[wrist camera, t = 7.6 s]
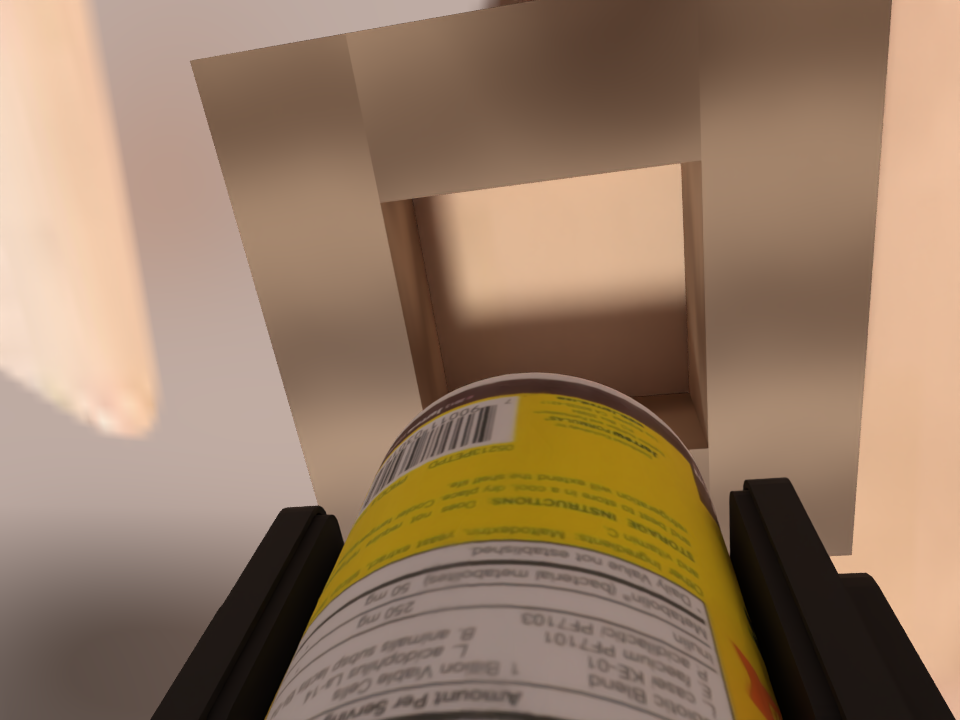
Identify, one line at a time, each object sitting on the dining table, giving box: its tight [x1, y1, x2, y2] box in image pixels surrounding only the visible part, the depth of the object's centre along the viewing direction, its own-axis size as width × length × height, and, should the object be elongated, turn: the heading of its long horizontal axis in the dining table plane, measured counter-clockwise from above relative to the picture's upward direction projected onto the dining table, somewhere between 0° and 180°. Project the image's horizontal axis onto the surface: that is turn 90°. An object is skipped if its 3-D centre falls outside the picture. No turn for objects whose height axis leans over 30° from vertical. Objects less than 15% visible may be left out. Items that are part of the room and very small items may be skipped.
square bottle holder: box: [190, 0, 892, 556], centre depth 21 cm, size 16×16×4 cm
